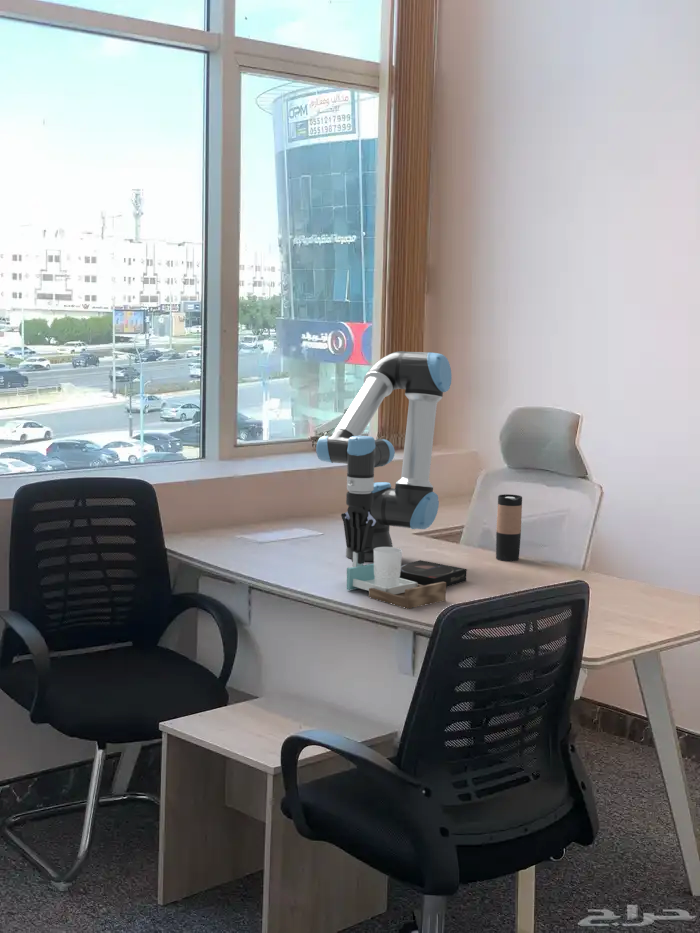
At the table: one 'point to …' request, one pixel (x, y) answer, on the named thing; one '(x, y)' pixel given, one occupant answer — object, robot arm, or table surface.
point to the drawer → (413, 595)
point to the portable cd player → (432, 573)
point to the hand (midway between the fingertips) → (357, 574)
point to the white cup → (387, 566)
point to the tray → (373, 580)
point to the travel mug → (508, 527)
